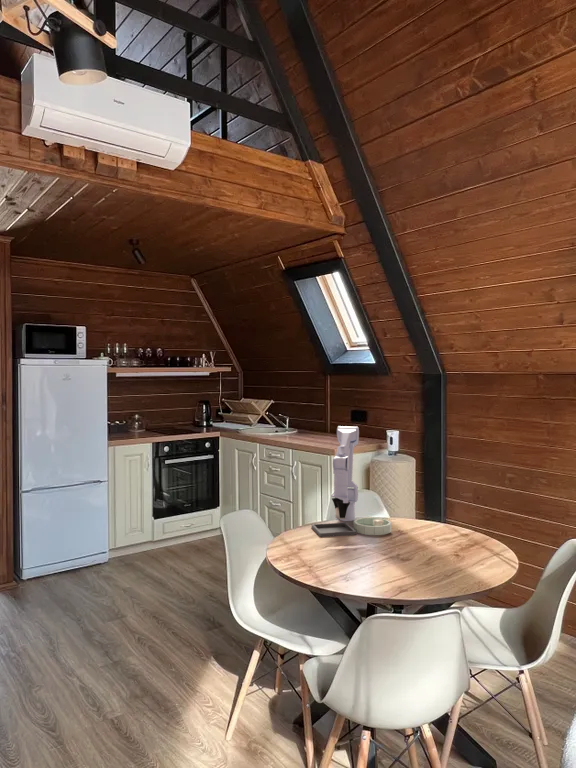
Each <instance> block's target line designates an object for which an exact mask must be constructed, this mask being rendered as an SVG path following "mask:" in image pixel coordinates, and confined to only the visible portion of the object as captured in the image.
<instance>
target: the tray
mask: <svg viewBox="0 0 576 768" xmlns="http://www.w3.org/2000/svg"><path fill="white" fill-rule="evenodd" d="M311 529H312V530H313V531H314V532H315V534H316V535H317V536H319V538H329V537H345V536H346V537H347V536H357V532H356V531H355V530H354V527H353V526H350V524H349V523H347V521H343V522H329V523H312V524H311Z"/></svg>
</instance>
